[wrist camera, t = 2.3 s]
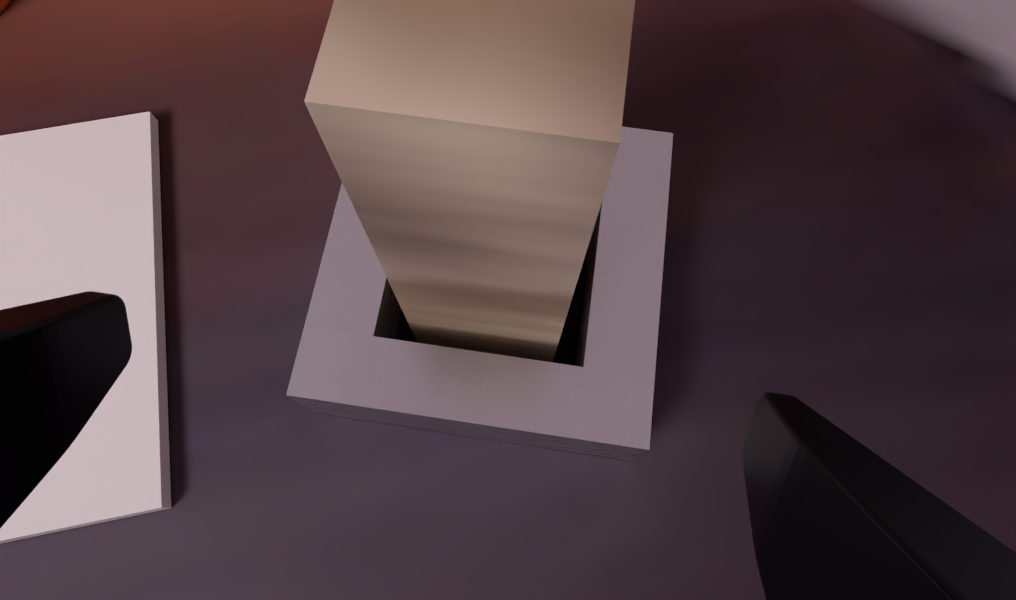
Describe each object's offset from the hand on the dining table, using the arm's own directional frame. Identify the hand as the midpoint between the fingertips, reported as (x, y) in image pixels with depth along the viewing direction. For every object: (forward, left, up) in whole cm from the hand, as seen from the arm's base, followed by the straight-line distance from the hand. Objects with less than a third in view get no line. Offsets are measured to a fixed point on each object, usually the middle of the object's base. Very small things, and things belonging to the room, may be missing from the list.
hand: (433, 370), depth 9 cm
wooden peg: (+5, -2, -12) cm, 13 cm away
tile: (+7, +14, -12) cm, 20 cm away
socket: (+5, -2, -12) cm, 13 cm away
